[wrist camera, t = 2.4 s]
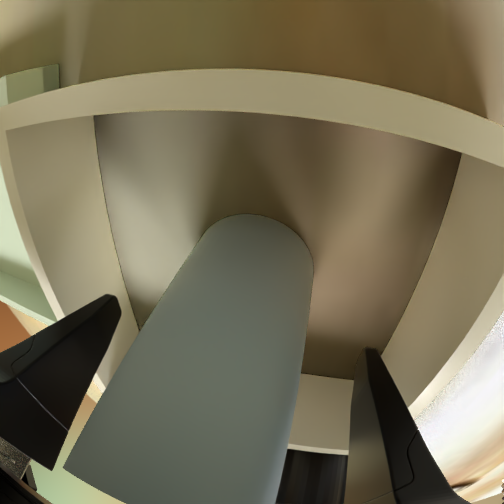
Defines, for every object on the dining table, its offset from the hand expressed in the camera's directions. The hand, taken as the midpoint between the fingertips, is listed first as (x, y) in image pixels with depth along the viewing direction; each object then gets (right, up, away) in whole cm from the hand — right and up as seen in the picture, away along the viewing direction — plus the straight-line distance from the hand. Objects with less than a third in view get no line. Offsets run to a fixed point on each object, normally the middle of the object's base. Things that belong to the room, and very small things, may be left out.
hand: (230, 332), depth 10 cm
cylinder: (+1, +2, +3) cm, 4 cm away
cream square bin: (+1, +2, +3) cm, 4 cm away
